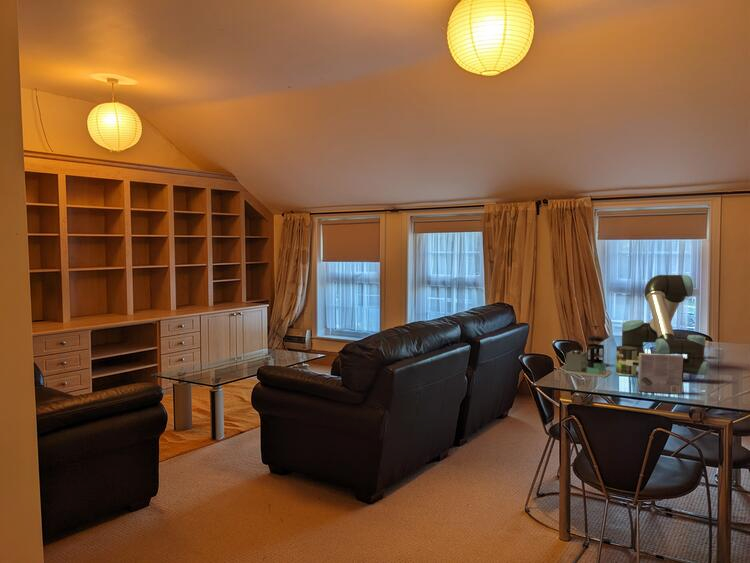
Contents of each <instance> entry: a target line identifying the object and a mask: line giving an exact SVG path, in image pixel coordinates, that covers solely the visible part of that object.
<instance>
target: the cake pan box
mask: <svg viewBox="0 0 750 563" xmlns="http://www.w3.org/2000/svg"><path fill="white" fill-rule="evenodd" d="M683 358H684V355H682V354H660V353H646V352H645V353H639V366H637V390H638V391H639V393H656V394H673V393H676V394H677V395H682V394H683V380H684V374H685V373H683Z"/></svg>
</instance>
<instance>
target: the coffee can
mask: <svg viewBox="0 0 750 563" xmlns="http://www.w3.org/2000/svg"><path fill="white" fill-rule="evenodd" d="M615 356H616V358H615V360H616V361H615V362H616V363H615V374H616V375H620V376H625V375H626V377H627V376H629V377H634V376H638V366H629V365H626V360H634V361H637V348H636V347H632V346H622V345H618V346H616V355H615ZM633 375H634V376H633Z"/></svg>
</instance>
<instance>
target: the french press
mask: <svg viewBox="0 0 750 563" xmlns="http://www.w3.org/2000/svg"><path fill="white" fill-rule="evenodd" d="M591 327H593V328H594V330H595V331H594V333H595V334H594V335H593V334H592V335H587V336H586V337H587V340H588V341H590V342H594V343H589V344H586V352H587V367H591V368H594V363H597V364H605V363H604V362H605V360H604V358H605V345H604V344H600V343H599V344H597V342H604V338H605V336H602V335H597V328H600V327H601V326H600V325H591ZM600 350H602V354H600ZM600 358H602V359H600Z"/></svg>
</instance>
